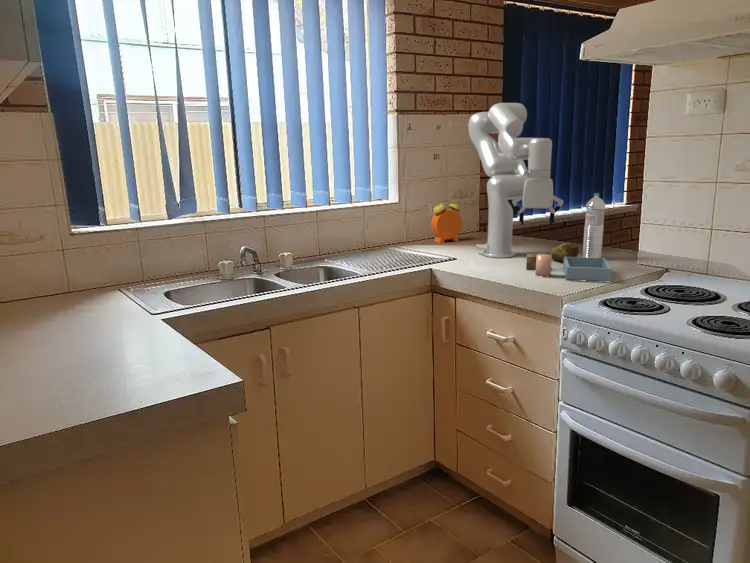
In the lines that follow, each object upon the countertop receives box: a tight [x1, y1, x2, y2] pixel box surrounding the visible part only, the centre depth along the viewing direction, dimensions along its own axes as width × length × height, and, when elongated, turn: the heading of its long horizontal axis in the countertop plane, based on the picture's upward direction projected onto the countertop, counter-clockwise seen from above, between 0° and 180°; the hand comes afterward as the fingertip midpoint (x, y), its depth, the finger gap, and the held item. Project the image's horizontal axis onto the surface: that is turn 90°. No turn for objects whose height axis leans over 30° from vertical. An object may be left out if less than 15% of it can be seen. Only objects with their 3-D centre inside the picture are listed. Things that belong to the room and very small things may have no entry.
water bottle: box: [581, 192, 606, 258], centre depth 219 cm, size 7×7×25 cm
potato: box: [548, 242, 580, 263], centre depth 215 cm, size 8×13×8 cm, turn 2°
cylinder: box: [534, 253, 553, 278], centre depth 195 cm, size 5×5×7 cm
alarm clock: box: [430, 197, 463, 244], centre depth 262 cm, size 13×6×20 cm, turn 113°
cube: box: [525, 253, 539, 271], centre depth 205 cm, size 5×5×5 cm
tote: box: [562, 256, 613, 282], centre depth 195 cm, size 14×18×4 cm
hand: (536, 224), depth 202 cm, fingers open, 9 cm apart
